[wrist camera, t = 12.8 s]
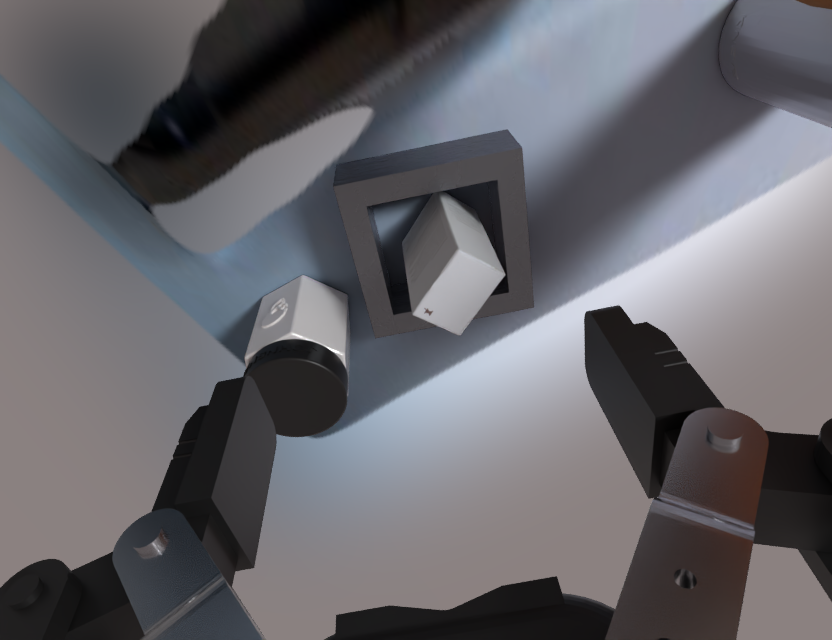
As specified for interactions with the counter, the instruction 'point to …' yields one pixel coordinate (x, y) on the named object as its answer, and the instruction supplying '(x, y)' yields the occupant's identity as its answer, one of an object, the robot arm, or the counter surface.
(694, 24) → the counter surface
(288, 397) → the jar
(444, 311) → the skincare box
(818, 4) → the pancake mix bag
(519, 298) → the socket block
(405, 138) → the counter surface
